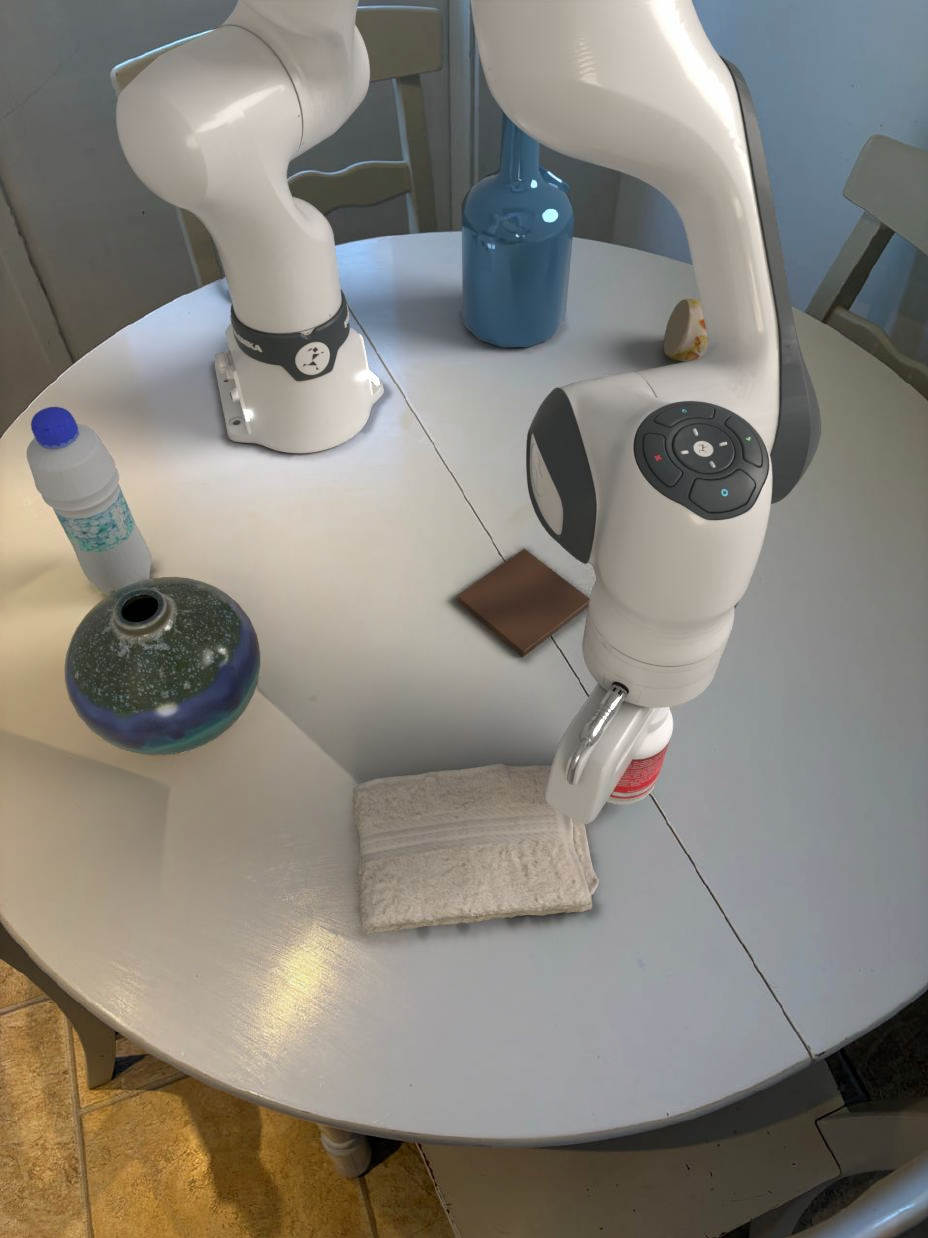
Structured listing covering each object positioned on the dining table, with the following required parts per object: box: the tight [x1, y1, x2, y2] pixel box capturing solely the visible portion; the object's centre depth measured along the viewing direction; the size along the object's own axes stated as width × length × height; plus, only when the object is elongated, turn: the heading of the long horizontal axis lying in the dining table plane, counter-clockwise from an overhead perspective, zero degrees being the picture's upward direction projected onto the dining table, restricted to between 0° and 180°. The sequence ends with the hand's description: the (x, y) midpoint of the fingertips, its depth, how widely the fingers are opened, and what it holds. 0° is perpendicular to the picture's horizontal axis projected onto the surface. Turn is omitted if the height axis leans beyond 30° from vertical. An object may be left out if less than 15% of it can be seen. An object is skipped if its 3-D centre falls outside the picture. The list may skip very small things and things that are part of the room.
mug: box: [663, 298, 708, 362], centre depth 106 cm, size 8×10×10 cm
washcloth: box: [351, 763, 600, 935], centre depth 68 cm, size 12×18×3 cm, turn 97°
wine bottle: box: [460, 108, 575, 348], centre depth 102 cm, size 14×13×30 cm
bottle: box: [26, 406, 153, 596], centre depth 79 cm, size 7×7×20 cm
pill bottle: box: [606, 707, 674, 806], centre depth 67 cm, size 6×6×11 cm
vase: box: [63, 576, 261, 756], centre depth 73 cm, size 15×15×13 cm
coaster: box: [456, 548, 590, 657], centre depth 84 cm, size 9×9×1 cm
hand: (624, 745), depth 68 cm, fingers closed on pill bottle, 6 cm apart
